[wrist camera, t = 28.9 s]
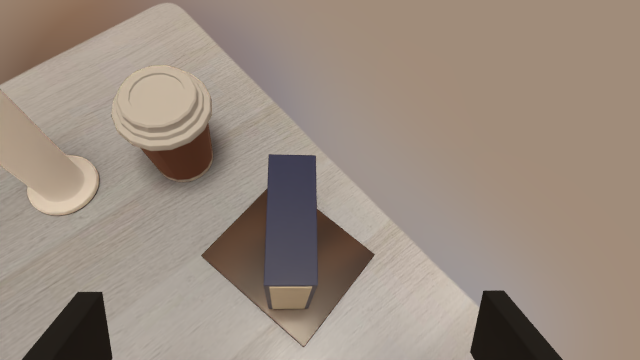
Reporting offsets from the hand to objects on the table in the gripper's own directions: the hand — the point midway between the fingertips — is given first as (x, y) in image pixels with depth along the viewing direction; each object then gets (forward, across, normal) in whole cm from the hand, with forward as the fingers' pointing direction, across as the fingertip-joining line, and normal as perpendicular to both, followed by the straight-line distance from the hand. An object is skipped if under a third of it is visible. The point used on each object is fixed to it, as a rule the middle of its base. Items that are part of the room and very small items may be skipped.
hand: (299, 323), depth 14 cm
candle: (+32, -25, -7) cm, 41 cm away
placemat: (+26, 0, -13) cm, 29 cm away
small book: (+26, 0, -12) cm, 29 cm away
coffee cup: (+35, -12, -5) cm, 37 cm away
